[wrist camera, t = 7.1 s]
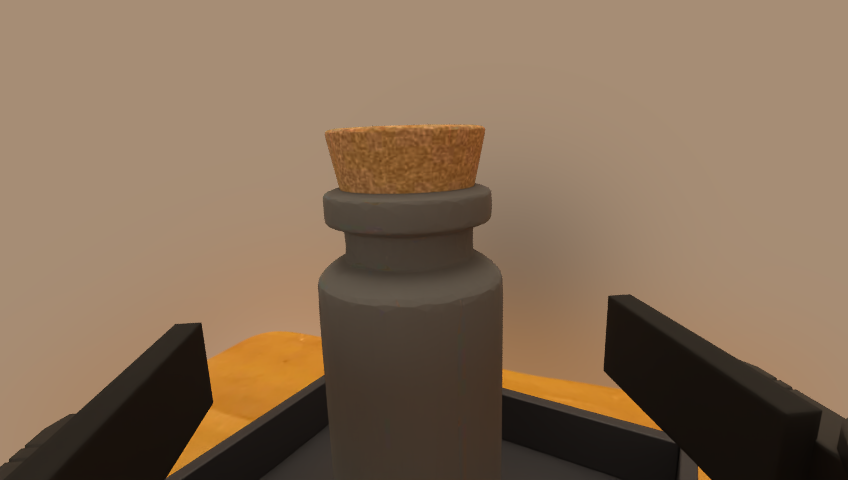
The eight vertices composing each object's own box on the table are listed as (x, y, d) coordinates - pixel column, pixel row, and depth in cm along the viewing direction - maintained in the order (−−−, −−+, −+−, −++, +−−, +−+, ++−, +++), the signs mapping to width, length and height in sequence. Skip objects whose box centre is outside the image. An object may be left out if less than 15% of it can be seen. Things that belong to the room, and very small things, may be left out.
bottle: (524, 612, 14) (537, 120, 11) (335, 643, 13) (287, 126, 10) (477, 477, 20) (476, 128, 16) (343, 493, 19) (314, 132, 16)
